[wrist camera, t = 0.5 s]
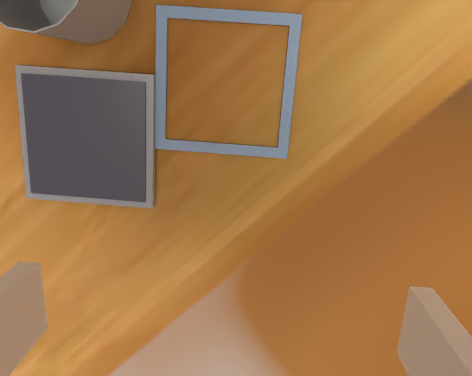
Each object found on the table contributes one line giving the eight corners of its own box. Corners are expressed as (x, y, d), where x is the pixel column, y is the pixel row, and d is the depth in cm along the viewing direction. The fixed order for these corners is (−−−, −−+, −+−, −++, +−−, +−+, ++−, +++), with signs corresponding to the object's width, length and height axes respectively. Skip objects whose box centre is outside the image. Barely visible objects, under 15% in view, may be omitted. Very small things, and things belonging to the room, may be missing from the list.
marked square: (157, 5, 35) (156, 4, 35) (302, 14, 35) (302, 14, 34) (155, 148, 39) (154, 148, 38) (286, 158, 38) (287, 158, 38)
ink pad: (21, 65, 37) (12, 64, 36) (156, 74, 37) (152, 74, 35) (31, 195, 41) (24, 199, 40) (155, 205, 40) (151, 209, 39)
